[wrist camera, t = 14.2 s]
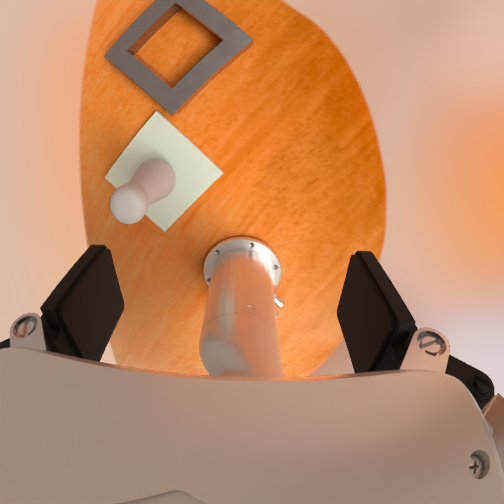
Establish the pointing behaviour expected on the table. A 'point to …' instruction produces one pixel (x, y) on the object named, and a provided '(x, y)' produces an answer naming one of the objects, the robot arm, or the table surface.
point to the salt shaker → (142, 191)
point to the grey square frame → (200, 74)
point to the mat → (180, 159)
